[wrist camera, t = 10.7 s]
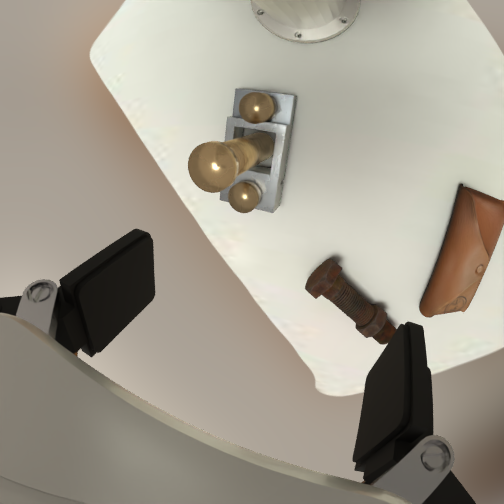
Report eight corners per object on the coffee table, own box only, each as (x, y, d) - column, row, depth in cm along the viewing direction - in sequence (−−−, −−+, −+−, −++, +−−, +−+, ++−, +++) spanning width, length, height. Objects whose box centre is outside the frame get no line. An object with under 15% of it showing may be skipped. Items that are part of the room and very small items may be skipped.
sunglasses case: (466, 315, 34) (454, 338, 31) (429, 294, 39) (413, 313, 35) (511, 199, 25) (509, 207, 22) (465, 179, 30) (455, 184, 26)
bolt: (385, 323, 42) (318, 262, 41) (408, 319, 38) (338, 251, 37) (370, 355, 40) (297, 294, 39) (394, 354, 35) (317, 287, 34)
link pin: (245, 126, 35) (189, 139, 24) (280, 132, 34) (236, 146, 23) (242, 160, 37) (187, 187, 26) (275, 166, 36) (231, 197, 25)
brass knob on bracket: (240, 88, 32) (224, 87, 29) (296, 96, 31) (287, 94, 27) (229, 195, 40) (214, 205, 36) (279, 207, 38) (268, 219, 34)
